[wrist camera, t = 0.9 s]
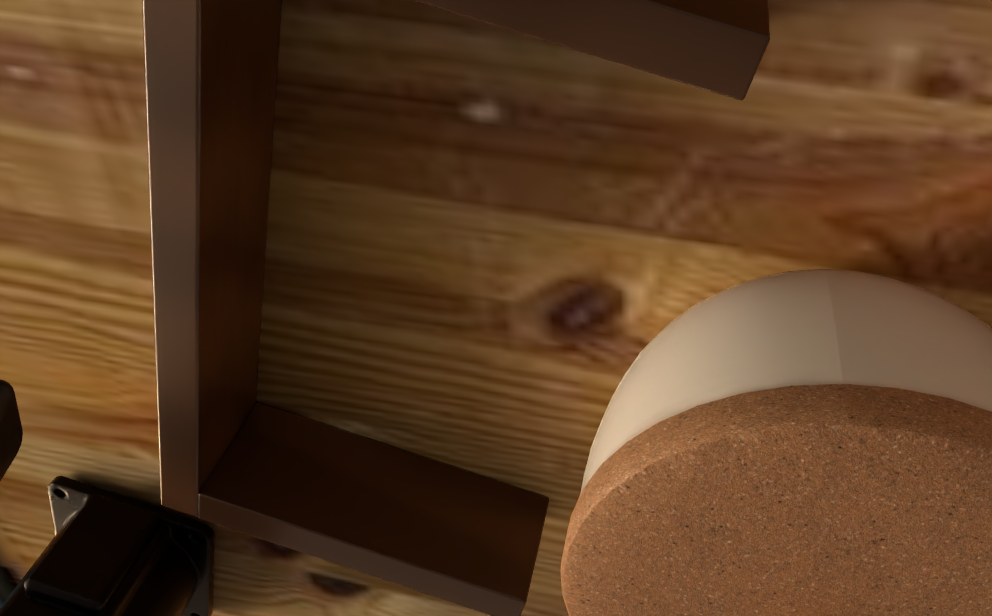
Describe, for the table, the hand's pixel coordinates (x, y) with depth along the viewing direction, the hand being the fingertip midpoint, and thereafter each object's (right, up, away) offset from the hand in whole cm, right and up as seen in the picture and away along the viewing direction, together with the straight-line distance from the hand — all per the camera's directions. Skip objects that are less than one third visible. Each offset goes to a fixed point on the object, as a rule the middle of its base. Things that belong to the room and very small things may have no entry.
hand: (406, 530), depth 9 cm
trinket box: (+9, +1, +14) cm, 17 cm away
